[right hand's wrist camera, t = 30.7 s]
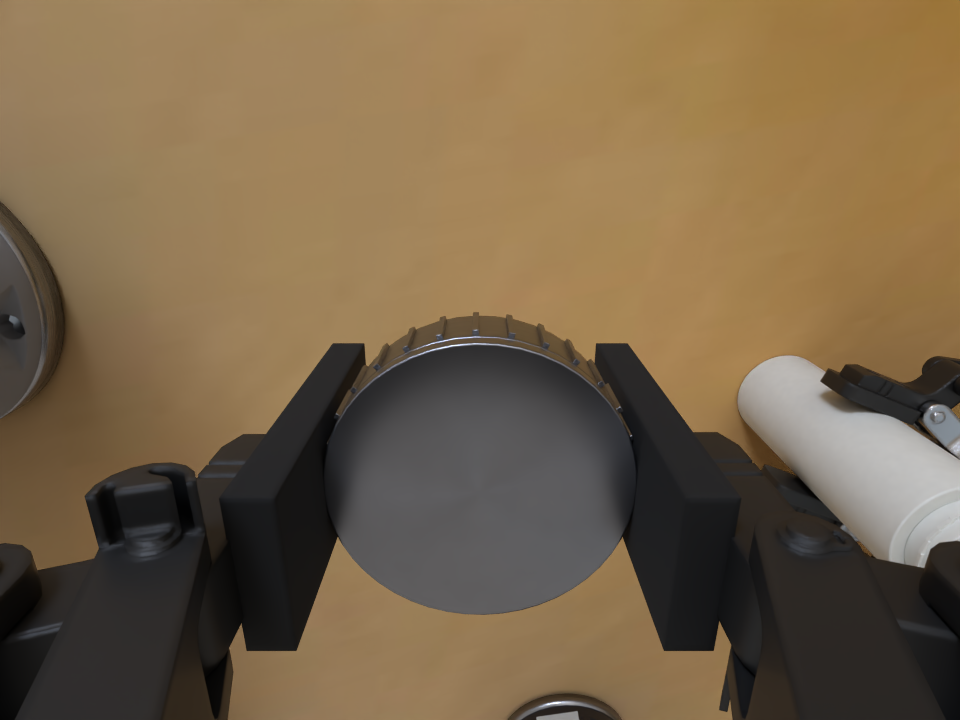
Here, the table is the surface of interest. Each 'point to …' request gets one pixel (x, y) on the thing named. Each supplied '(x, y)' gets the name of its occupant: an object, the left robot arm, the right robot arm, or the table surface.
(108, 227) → the table surface
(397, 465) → the lid
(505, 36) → the table surface
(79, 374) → the table surface
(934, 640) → the right robot arm
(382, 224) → the table surface
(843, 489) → the bottle
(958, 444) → the left robot arm
